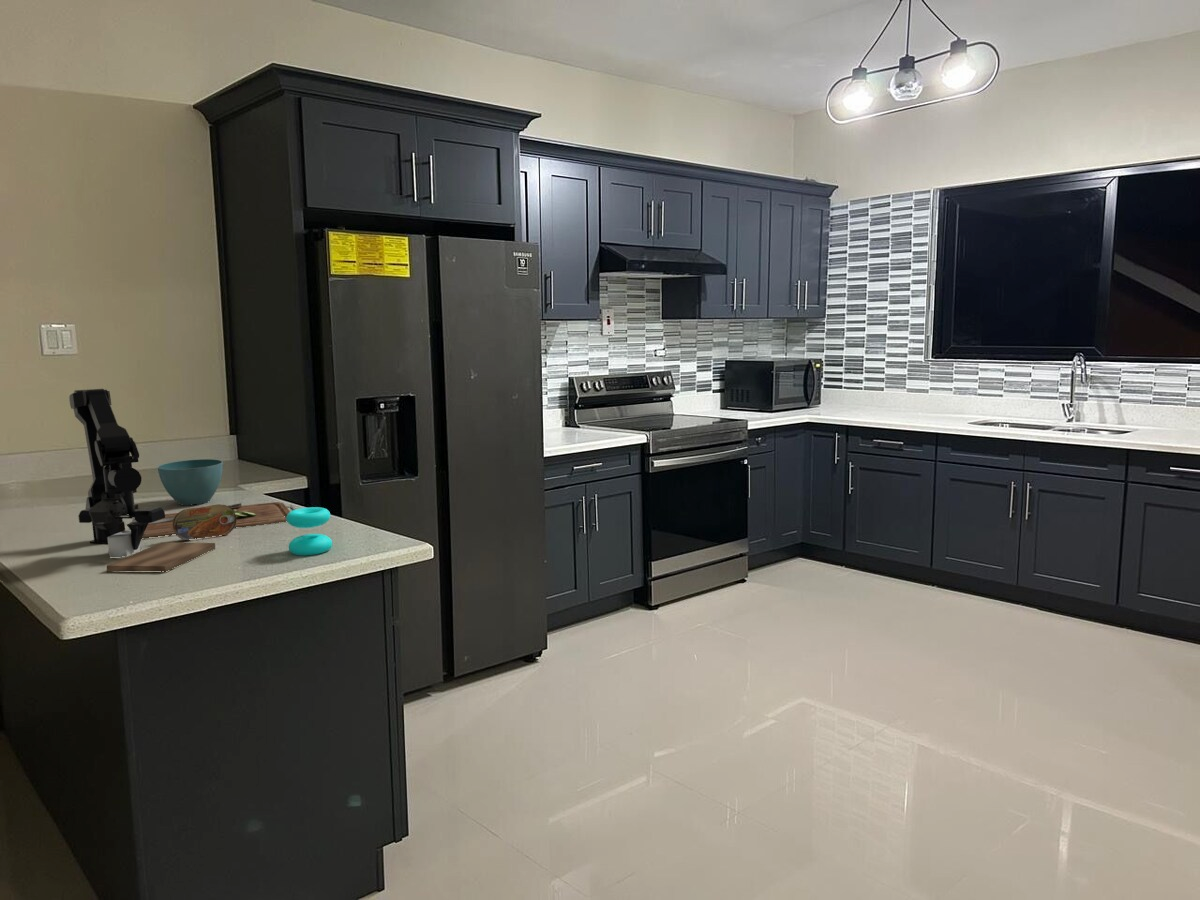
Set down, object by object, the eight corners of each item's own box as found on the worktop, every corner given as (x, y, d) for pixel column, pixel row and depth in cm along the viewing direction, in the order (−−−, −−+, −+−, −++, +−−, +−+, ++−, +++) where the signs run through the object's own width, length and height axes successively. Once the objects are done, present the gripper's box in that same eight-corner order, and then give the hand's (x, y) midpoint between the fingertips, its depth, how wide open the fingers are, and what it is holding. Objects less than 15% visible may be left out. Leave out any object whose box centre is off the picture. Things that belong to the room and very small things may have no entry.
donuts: (330, 504, 211) (329, 513, 201) (333, 544, 212) (332, 554, 203) (287, 508, 208) (284, 516, 198) (290, 548, 209) (287, 558, 200)
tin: (175, 543, 216) (172, 511, 215) (173, 541, 219) (169, 509, 217) (238, 534, 225) (235, 502, 224) (235, 531, 227) (232, 500, 226)
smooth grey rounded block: (105, 558, 203) (103, 538, 202) (130, 548, 212) (128, 529, 211) (121, 559, 203) (119, 538, 202) (145, 548, 211) (143, 529, 211)
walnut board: (107, 571, 192) (106, 565, 192) (161, 548, 211) (161, 542, 211) (165, 572, 190) (165, 566, 190) (215, 548, 210) (214, 542, 210)
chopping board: (121, 544, 219) (119, 532, 218) (123, 523, 242) (122, 512, 242) (304, 521, 239) (303, 511, 239) (290, 504, 263) (289, 494, 262)
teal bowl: (225, 505, 261) (221, 465, 259) (158, 511, 255) (154, 470, 253) (226, 494, 278) (223, 457, 276) (164, 500, 271) (160, 461, 269)
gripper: (58, 492, 198) (65, 558, 200) (133, 493, 196) (140, 559, 198) (91, 483, 209) (98, 545, 211) (163, 483, 207) (169, 546, 209)
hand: (125, 549), depth 207 cm, fingers open, 5 cm apart
